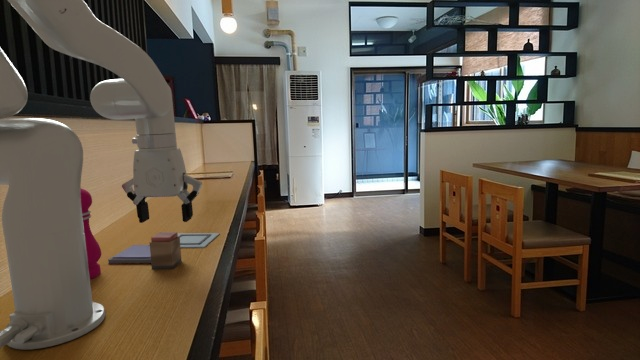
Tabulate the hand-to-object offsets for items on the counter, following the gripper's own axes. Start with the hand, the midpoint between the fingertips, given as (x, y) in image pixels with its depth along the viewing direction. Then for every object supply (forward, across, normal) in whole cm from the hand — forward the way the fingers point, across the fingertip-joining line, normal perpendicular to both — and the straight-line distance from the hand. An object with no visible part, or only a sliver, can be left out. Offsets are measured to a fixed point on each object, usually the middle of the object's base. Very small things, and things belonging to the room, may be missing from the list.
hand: (165, 220), depth 83 cm
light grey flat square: (+10, -2, +17) cm, 20 cm away
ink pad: (+10, -9, +5) cm, 14 cm away
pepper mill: (+10, -15, -7) cm, 19 cm away
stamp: (+10, 0, -1) cm, 10 cm away
